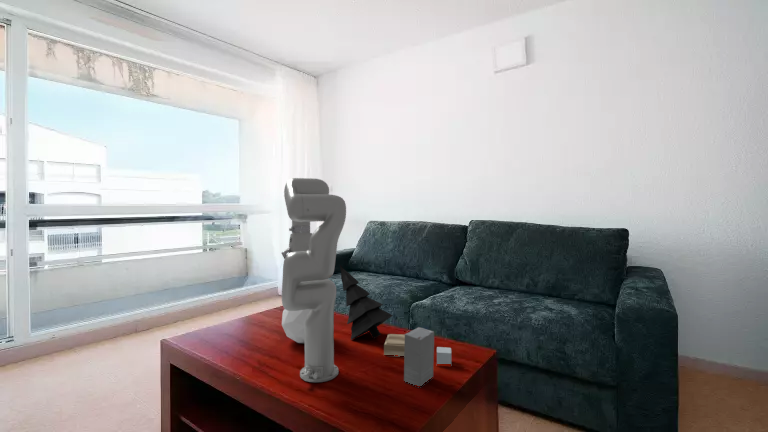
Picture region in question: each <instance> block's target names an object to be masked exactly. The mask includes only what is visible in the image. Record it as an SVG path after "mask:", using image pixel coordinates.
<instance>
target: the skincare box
mask: <svg viewBox="0 0 768 432" xmlns="http://www.w3.org/2000/svg"><path fill="white" fill-rule="evenodd" d="M404 335H405V350H404V357H403V358H404V360H403V361H404V363H403V382H404V381H405V382H404V383H406V382H408V383H407V384H409V383H410V384H409V385H411V384H413V385H412V386H414V385H417V386H422V385H423V384H424V383H425V382H427V381H428V380H429V379H431V378H432V377H433V378H434V363H435V361H434V359H435V358H434V357H435V331H434V330H430V329H426V328H424V327H419V326H418V327H416V328H415V329H412V330H410V331H408V332H406V333H404ZM433 378H432V379H433ZM432 379H431V380H432ZM428 382H429V381H428ZM428 382H427V383H428ZM424 385H425V384H424ZM424 385H423V386H424ZM423 386H422V387H423Z"/></svg>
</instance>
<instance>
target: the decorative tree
mask: <svg viewBox="0 0 768 432" xmlns="http://www.w3.org/2000/svg"><path fill="white" fill-rule="evenodd" d="M339 268H340V279H341V283H342V290H343V292H345V297H346V299H345V300H346V302H345V303H346V307H349V309H348V319H347V323H346V325H349V324H351V329H350V330H351V335H350V341H352V340H355V339H357V338H359V337H361V336H363V335H364V333H365V334H367V333H370V335H371V337H372V339H373V340H374V339H376V338H377V337H379V336H382V335H381V332H380V330H379V329H378V327H379V326H380V325H382V324H383V323H384V322H386V321H387V320H390V318H391V317H393V314H391V313H389V312H387V311H385V310H383V309H382V308H381V307H382V306H383V305H384V304H383V303H381V302H379V301H377V300H375V299H374V298H371V297H369V295H370V292H368V291H367V290H366V289H365V288H363V287H362V286H360V285H358V284H359V283H360V281H358V280H357V279H356V278H355V277H354V276H353V275H352V274H351V273H350V272H348V271H347V270H346V269H345V268H344V266H342V265H341V264H339ZM368 331H369V332H368ZM366 332H367V333H366ZM358 336H359V337H358ZM356 337H357V338H356ZM354 338H355V339H354Z"/></svg>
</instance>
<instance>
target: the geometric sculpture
mask: <svg viewBox="0 0 768 432" xmlns="http://www.w3.org/2000/svg"><path fill="white" fill-rule="evenodd" d="M311 310H312V309H307V310H298V311H288V310H286V309H285V308H283V311H282V315H281V316H282V317H281V326H282V329H283V331H284V333H285V335H286V337H287V338H289V339H291V340H292V341H294V342H296V343H297V344H305V320H306V318H307V316H308V314H309V313H310V311H311Z"/></svg>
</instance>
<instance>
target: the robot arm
mask: <svg viewBox="0 0 768 432" xmlns="http://www.w3.org/2000/svg"><path fill="white" fill-rule="evenodd" d="M283 193H284V195H283V197H284V201H285V206H286V211H287V215H288V218H289V219H290V221H291V227H289V228H288V231H289V232H291V233H290V236H289V241H288V243H289V244H288V248H286V249H284V250H283V251H282V252H281V255H282V258H283V266H282V281H281V284H282V285H281V304H282V307H283V309H286V310H288V311H298V310H307V309H312V310H311V311H310V313H309V314H308V316H307V318H306V320H305V343H304V367H302V368H301V369H300V370H299V377H300V379H302V380H303V381H305V382H309V383H323V382H328V381H331V380H333V379H335V378H337V376H338V375H339V367H338V366H337V365H336V364H335V349H334V348H335V341H334V340H335V339H334V338H335V337H334V336H335V335H334V334H335V333H334V330H335V329H334V327H335V325H334V324H335V322H334V317H335V306H336V299H337V286H336V284H335V282H334V281H333V280H331V279H330V278H332V276H333V274H334V272H335V266H336V258H337V252H338V251H337V250H338V242H339V238H340V235H341V234H342V231H343V228H344V225H345V224H346V223H345V222H346V219H347V218H346V217H347V205H346V204H347V203H346V201H345V200H344V199H343V197H341V196H339V195H337V194H330V187H329V185H328V184H327V182H326V181H325V180H323V179H320V178H311V177H310V178H307V177H306V178H303V177H293V178H290V179H288V180H287V181H286V183H285V186H284V191H283ZM311 222H315V223H316V222H323V223H322V224H320V225H319V226H318V227H316V229H315V230H314V231H313V232H311Z"/></svg>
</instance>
